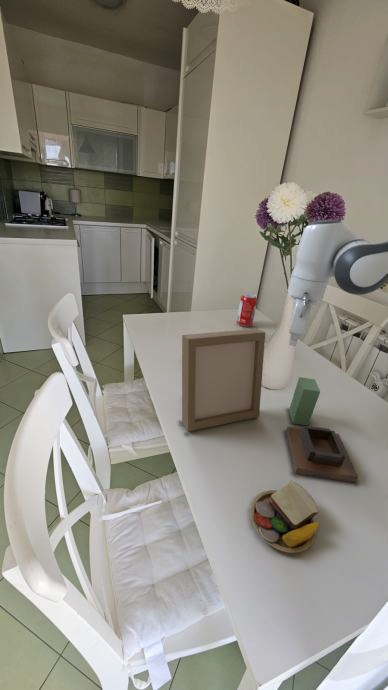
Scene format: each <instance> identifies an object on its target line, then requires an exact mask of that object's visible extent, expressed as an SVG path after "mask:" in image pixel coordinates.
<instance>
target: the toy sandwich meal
mask: <svg viewBox="0 0 388 690" xmlns="http://www.w3.org/2000/svg"><path fill="white" fill-rule="evenodd" d="M319 509H320V508H319V506H318V504H317V502H316V500H315V499H314V497H313V496H312V495H311V494H310V493H309V492H308V491H307V490H306V489H305V487H303V486H302V485H301V484H300V483H297V482H296V481H293V480H290V481H289V482H288V484H287V485H285V486H283V487H281V488H280V489H278V490H275V489H273V490H265V491H262V492H260V493H259V494H257V495H256V496H255V497H254V499H253V500H252V502H251V505H250V512H249V514H250V519H251V522H252V526H253V527H254V529H255V531H256V533H257V534H258V535H259V536H260V538H261V539H262V540H263V541H264V542H266V543H267V544H268V545H269V546H270V547H272V548H274V549H276V550H278V551H281V552H283V553H284V552H285V553H289V554H294V553H296V554H297V553H301V552H303V551H306V550H307V549H308V548H310V547H311V545H312V544H313V542H314V540H315V537H316V531H317V530H318V529H319V527H320V524H319V523H318V521H315V522H314V518H315V517H316V516H317V515H318V513H319Z"/></svg>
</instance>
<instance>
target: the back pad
mask: <svg viewBox="0 0 388 690" xmlns="http://www.w3.org/2000/svg"><path fill="white" fill-rule="evenodd" d="M320 393H321V389H320V388H319V385H318V384H317V381H316V379H315V378H308V377H301V376H299V377H298V379H297V382H296V385H295V389H294V392H293V395H292V399H291V402H290V405H289V408H288V412H289V415H290V419H291V422H292V424H294V425H295V424H296V425H303V426H310V423H311V418H312V416H313V414H314V410H315V408H316V406H317V402H318V399H319V397H320Z"/></svg>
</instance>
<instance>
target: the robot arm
mask: <svg viewBox="0 0 388 690" xmlns="http://www.w3.org/2000/svg"><path fill="white" fill-rule="evenodd" d="M295 254H296V255H295V265H294V268H293V270H292V271H291V275H290V278H289V283H288V288H287V294H288V295H290V300H291V301H292V302H293V304H292V313H291V316H290V323H289V328H288V333H289V334H290V337H289V342H288V346H292V347H296V346H297V344H298V340H299V338H300V337H304V335H305V333H306V330H307V327H308V323H309V320H310V317H311V311H312V306H314V305H316V304H317V302H318V301H322V300H323V299H324V297H325V294H326V290H327V286H328V284H329V281H330V278H332V277H333V278H334V279H335V282H336V285H337V286H338V287H339V288H340V289H341V290H342V291H344V292H345V293H347V294H351V295H355V296H357V295H359V296H361V295H368V294H371V293H373V292H375V291H377V290H379V289H380V288H381V287H383V286H384V285H385V284H386V283H387V282H388V240H386V241H382V242H378V243H371V242H370V241H368V240H366V239H364V238H362V237H361V236H359V235H357V234H356V233H354V232H352V231H351V230H350V229H349V228H348V227H347V226H345V224H344V223H343V222H342V221H341V220H339V219H318V220H314V221H311V222H309V224H307V225H306V226H305V228H304V229H303V232H302V234H301V237H300V240H299V243H298V246H297V250H296V253H295Z"/></svg>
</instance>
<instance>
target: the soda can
mask: <svg viewBox="0 0 388 690" xmlns="http://www.w3.org/2000/svg"><path fill="white" fill-rule="evenodd" d="M257 304H258V297H257V295H256V294H255V293H251V292H244V293H243V294H242V295H241V296H240V300H239V306H238V311H237V316H236V323H237V324H238V325H239V326H241V327H243V328H244V327H245V328H246V327H252V325H253V323H254V319H255V314H256V309H257Z"/></svg>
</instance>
